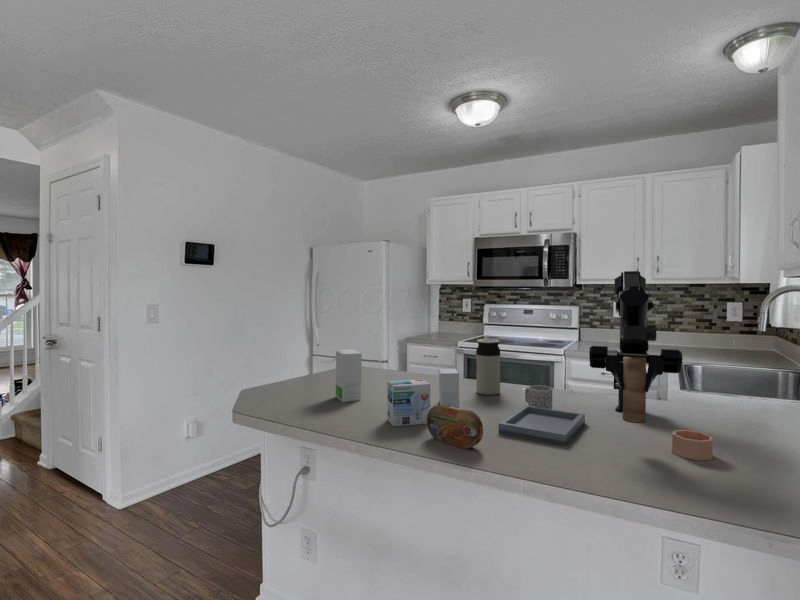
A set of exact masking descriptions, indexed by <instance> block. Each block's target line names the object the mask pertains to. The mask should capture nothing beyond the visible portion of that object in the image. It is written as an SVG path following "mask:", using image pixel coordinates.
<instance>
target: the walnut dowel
mask: <svg viewBox="0 0 800 600" xmlns="http://www.w3.org/2000/svg"><path fill="white" fill-rule="evenodd" d="M646 373H647V364H646V358H644V357H636V356H625V357H623V412H622V420H623V421H624V422H627V423H631V424H646V417H647V416H646V412H647V411H646V410H647V409H646V404H647V392H646Z"/></svg>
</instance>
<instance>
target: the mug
mask: <svg viewBox="0 0 800 600" xmlns="http://www.w3.org/2000/svg"><path fill="white" fill-rule="evenodd" d="M524 399H525V402H526V403H527V404H528V406H534V407H541V408H548V409H553V387H551V386H548V385H530V386H527V387H526V388H525V391H524Z"/></svg>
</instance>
